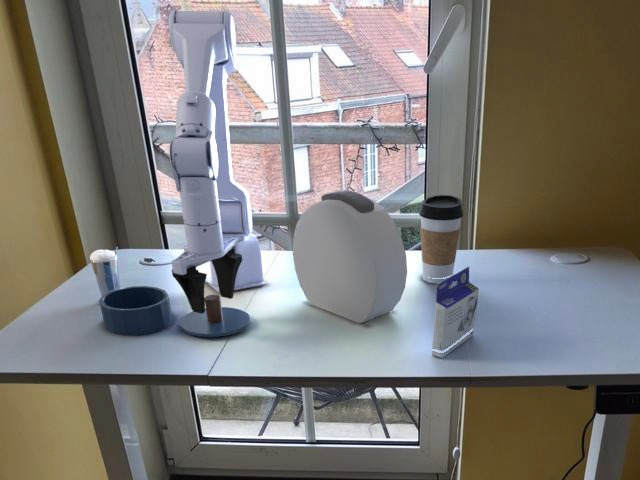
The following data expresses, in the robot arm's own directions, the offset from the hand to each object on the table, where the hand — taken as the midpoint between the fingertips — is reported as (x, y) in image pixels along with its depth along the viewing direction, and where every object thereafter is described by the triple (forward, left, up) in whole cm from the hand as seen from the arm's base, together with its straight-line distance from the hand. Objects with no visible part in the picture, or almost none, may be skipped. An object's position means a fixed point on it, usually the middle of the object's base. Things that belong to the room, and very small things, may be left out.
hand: (213, 304), depth 124 cm
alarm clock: (-24, +4, -4) cm, 25 cm away
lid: (0, 0, -3) cm, 3 cm away
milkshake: (+12, -20, -4) cm, 24 cm away
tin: (+11, -8, -4) cm, 14 cm away
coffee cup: (-47, -1, -4) cm, 47 cm away
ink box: (-31, +27, -4) cm, 41 cm away
